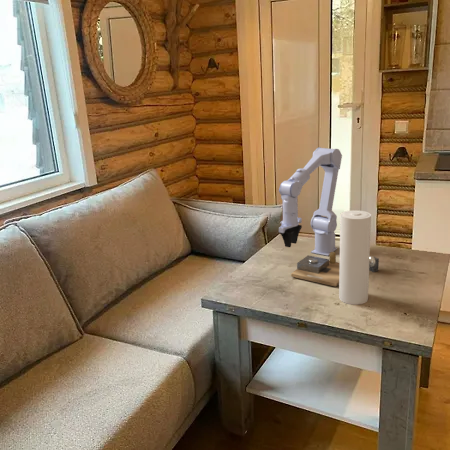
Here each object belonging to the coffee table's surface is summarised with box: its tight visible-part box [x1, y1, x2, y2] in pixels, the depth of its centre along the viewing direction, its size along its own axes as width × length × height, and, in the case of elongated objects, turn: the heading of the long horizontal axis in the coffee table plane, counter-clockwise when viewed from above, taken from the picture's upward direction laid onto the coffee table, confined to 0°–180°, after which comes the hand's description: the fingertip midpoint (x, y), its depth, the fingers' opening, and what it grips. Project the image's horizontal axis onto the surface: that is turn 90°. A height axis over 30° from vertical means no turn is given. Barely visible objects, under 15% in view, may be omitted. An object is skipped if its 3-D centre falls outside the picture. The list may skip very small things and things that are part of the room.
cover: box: [296, 255, 329, 274], centre depth 175 cm, size 9×9×3 cm
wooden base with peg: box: [290, 251, 340, 287], centre depth 172 cm, size 18×18×5 cm
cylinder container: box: [338, 209, 372, 306], centre depth 149 cm, size 9×9×30 cm
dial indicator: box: [369, 255, 380, 273], centre depth 172 cm, size 3×4×6 cm
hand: (290, 244), depth 179 cm, fingers open, 4 cm apart
